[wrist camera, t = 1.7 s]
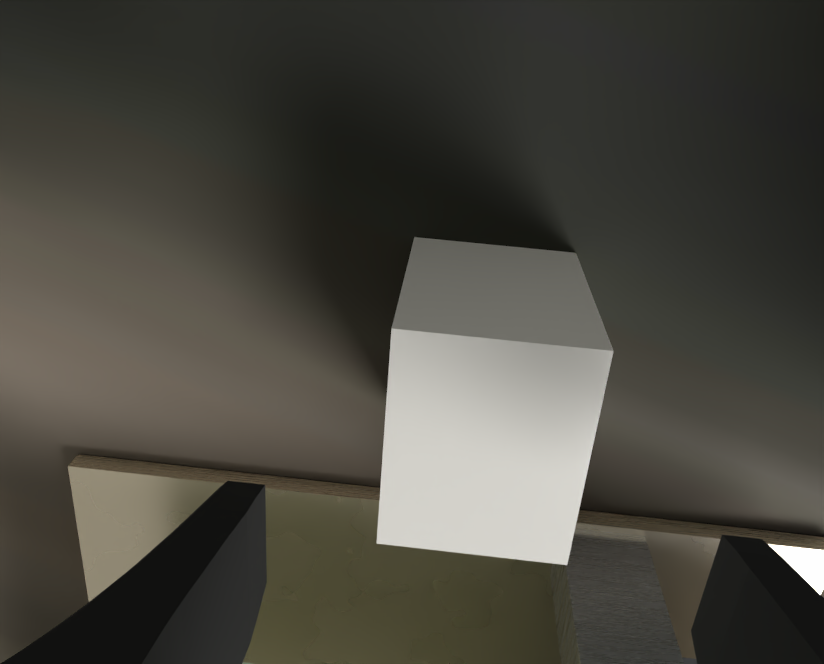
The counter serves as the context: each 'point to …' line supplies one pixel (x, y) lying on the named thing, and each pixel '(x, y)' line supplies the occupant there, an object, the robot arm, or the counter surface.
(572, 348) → the white rectangular block
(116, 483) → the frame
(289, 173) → the counter surface
